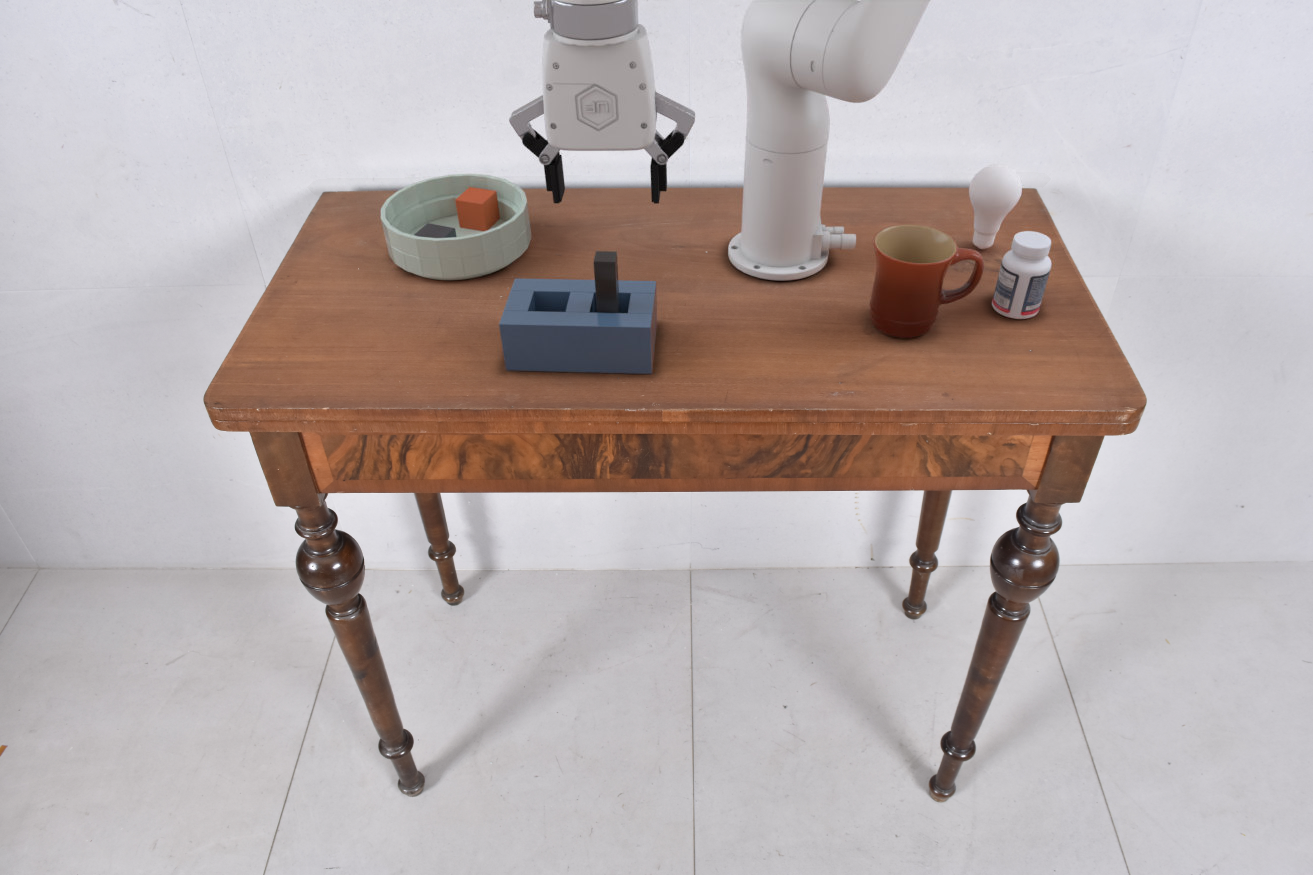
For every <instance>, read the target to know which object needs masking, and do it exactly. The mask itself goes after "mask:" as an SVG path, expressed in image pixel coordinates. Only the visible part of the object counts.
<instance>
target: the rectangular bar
mask: <svg viewBox="0 0 1313 875" xmlns="http://www.w3.org/2000/svg"><path fill="white" fill-rule="evenodd" d="M593 273H594V276H593V277H594V280H595V291H596V305H597V313H620V299H619V263H618V251H616V250H615V251H613V250H612V251H611V250H609V251H608V250H596V251H595V254H594V257H593Z"/></svg>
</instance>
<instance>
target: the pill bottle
mask: <svg viewBox="0 0 1313 875" xmlns="http://www.w3.org/2000/svg"><path fill="white" fill-rule="evenodd" d="M1012 238H1013V239H1012V242H1011V245H1010V247H1011V248H1010V249H1009V250H1007V252H1006V253H1005V254H1004V255H1003V257H1002V259H1001V263H1000V267H999V271H998V276H997V280H996V284H995V288H994V292H993V296H992V300H991V306H992V308H993V310H994V311H995V312H997V313H998V314H999V315H1001V316H1004V317H1006V318H1009V319H1015V320H1026V319H1027V320H1028V319H1030V318H1033V317H1035V316H1036V315H1037V314H1038V313H1039V311H1040V308H1041V305H1042V302H1043V299H1044V294H1045V292H1046V287H1047V283H1048V280H1049V277H1050V273H1051V269H1052V260H1051V258H1050V256H1049V254H1050V250H1051V247H1052V239H1051V238H1050V237H1049V236H1048V235H1046V234H1044V233H1042V232H1038V231H1032V230H1025V231H1019V232H1017V233H1015V234H1014V236H1013V237H1012Z"/></svg>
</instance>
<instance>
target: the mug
mask: <svg viewBox="0 0 1313 875" xmlns="http://www.w3.org/2000/svg"><path fill="white" fill-rule="evenodd" d="M872 242H873V249H874V255H875V260H876V261H875V264H876V265H875V266H876V267H875V275H874V279H873V285H872V289H871V296H870V300H869V319H870V322H871V324H872V325H873V326H874V327H875V328H876V329H877V330H878V331H880V332H881V333H883V334H885V335H887V336H890V337H892V338H896V339H913V338H916V337H920V336H922V335H925V334H926V333H928V332H929V331H930V330H932V328H933V326H934V324H935V322H936V320H937V319H936V318H937V316H938V315H939V308H940V306H942V305H947V304H952V303H954V302H956V301H959V300H961V299H965V298H966V297H967V296H969V295H970V294H971V293H972V292H973V291H974V290H975V289H976V288H977V286H978V285H979V283H980V281H981V280H982V278H983V274H984V270H985V261H984V258H983V256H982V254H981V253H980V252H979V251H977V250H976V249H973V248H964V247H958V243H957V242H956V240H955V239H954V238H953V237H952V236H950V235H949V234H948V233H946V232H944V231H942V230H939V229H937V228H934V227H931V226H926V225H920V224H897V225H892V226H888V227H885V228H883V229H881V230H879V231H878V232H877V233H876V234H875V236H874V238H873V241H872ZM962 261H974V266H973V270H972V272H971V274H970V276H969V278H968V280H966V282H965V283H964V284H963V285H961V286H960V287H957V288H954V289H943V285H944V280H945V278H946V274H947V272H948V270H949V268H950V267H951V266H952V265H955V264H957V263H960V262H962Z"/></svg>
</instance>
